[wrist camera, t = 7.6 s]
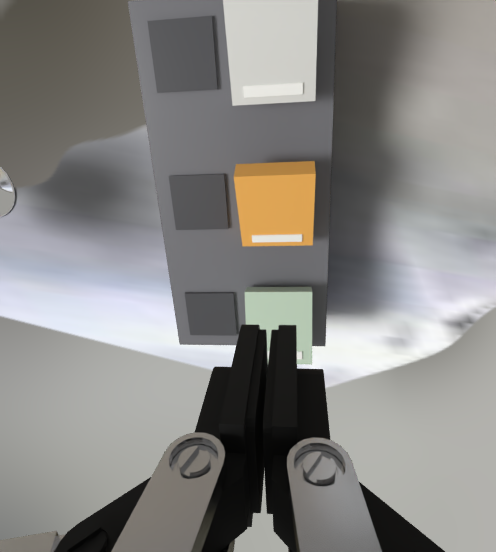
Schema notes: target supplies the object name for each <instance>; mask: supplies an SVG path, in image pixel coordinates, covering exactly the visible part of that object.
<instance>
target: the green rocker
mask: <svg viewBox="0 0 496 552" xmlns="http://www.w3.org/2000/svg"><path fill="white" fill-rule="evenodd" d="M245 317H246V325H259V326H260V329H266V333H267V357H268V361H269V351H270V340H271V330H278V326H279V325H296V328H297V364H312V288H311V287H247V288H246V290H245Z"/></svg>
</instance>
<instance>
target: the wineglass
mask: <svg viewBox="0 0 496 552" xmlns="http://www.w3.org/2000/svg"><path fill="white" fill-rule="evenodd" d="M14 203H15V190H14V186H13V183H12V181H11V179H10V177H9V176H8V174H7V173H6V172H5V170H4V169H3V168H2V167H1V166H0V217H2V216H4V215H6V214H8V213H9V212H10V211H11V209H12V208H13V206H14Z"/></svg>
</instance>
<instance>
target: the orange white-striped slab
mask: <svg viewBox="0 0 496 552" xmlns="http://www.w3.org/2000/svg"><path fill="white" fill-rule="evenodd" d="M315 178H316V172H315V161H302V162H277V163H252V164H236V166H235V172H234V183H235V191H236V199H237V207H238V215H239V223H240V231H241V238H242V246H305V245H313V226H314V202H315Z"/></svg>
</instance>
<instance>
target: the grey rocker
mask: <svg viewBox="0 0 496 552" xmlns="http://www.w3.org/2000/svg"><path fill="white" fill-rule="evenodd" d="M223 7H224V18H225V29H226V40H227V51H228V62H229V73H230V83H231V94H232V105H233V106H236V105H254V104H272V103H289V102H307V101H315V96H316V59H317V22H318V0H223Z"/></svg>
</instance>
